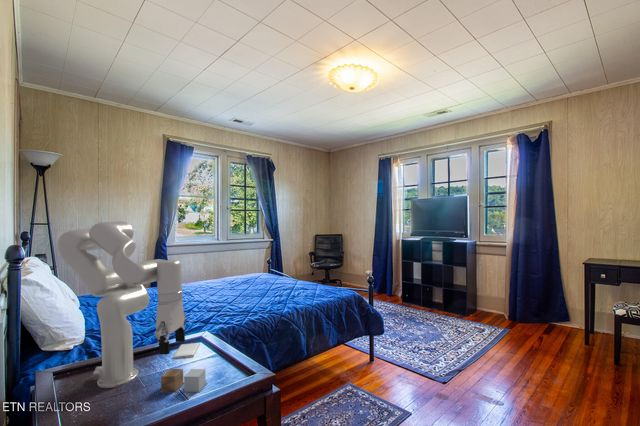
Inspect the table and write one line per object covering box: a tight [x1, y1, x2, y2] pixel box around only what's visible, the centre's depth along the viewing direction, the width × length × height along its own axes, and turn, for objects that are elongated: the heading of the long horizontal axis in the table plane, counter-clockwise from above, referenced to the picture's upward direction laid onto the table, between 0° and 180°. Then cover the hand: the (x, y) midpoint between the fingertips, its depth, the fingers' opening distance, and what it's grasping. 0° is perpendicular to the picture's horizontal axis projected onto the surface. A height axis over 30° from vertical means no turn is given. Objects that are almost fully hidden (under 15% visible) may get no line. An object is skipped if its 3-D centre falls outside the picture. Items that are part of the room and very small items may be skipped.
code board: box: [159, 382, 208, 394], centre depth 106 cm, size 16×10×1 cm, turn 86°
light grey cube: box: [183, 368, 207, 392], centre depth 106 cm, size 5×5×5 cm
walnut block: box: [160, 368, 184, 393], centre depth 107 cm, size 5×5×5 cm
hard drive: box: [172, 342, 201, 360], centre depth 137 cm, size 2×8×12 cm
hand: (172, 347), depth 107 cm, fingers open, 9 cm apart
